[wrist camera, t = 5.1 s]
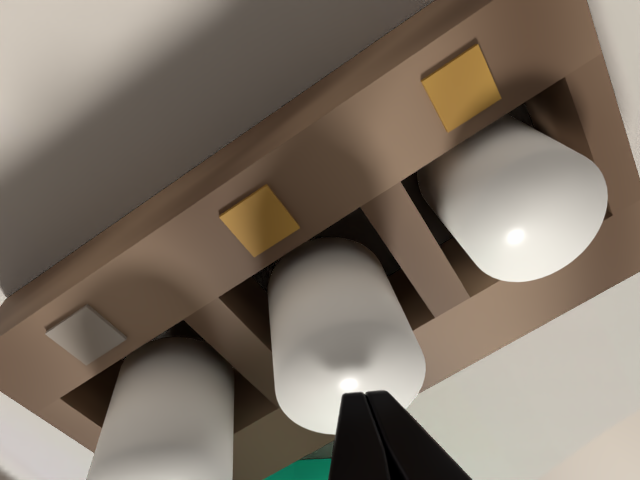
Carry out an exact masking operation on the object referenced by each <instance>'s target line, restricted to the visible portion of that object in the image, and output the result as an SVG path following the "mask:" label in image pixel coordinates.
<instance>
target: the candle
mask: <svg viewBox="0 0 640 480" xmlns="http://www.w3.org/2000/svg"><path fill="white" fill-rule="evenodd" d="M330 465H331V458H330V459H309V460H297V461H296V462H294V463H292V464H290V465H288V466H287V467H285V468H283V469H281V470H279V471H278V472H276V473H274V474H272V475H270V476H269V477H267V478H265V479H263V480H328V477H329V471H330Z"/></svg>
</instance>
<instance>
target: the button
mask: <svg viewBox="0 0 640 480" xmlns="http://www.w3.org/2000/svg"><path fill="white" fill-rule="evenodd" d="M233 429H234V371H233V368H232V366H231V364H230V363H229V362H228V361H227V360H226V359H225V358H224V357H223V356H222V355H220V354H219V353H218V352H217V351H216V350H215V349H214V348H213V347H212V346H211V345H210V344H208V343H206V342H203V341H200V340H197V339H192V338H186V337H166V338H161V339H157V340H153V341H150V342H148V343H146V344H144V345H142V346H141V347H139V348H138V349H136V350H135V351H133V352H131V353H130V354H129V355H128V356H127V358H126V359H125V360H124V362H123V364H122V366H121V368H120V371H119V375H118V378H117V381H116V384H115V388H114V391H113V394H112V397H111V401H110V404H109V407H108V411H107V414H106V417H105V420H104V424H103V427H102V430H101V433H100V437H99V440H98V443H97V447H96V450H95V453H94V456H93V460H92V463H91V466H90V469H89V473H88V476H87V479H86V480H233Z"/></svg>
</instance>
